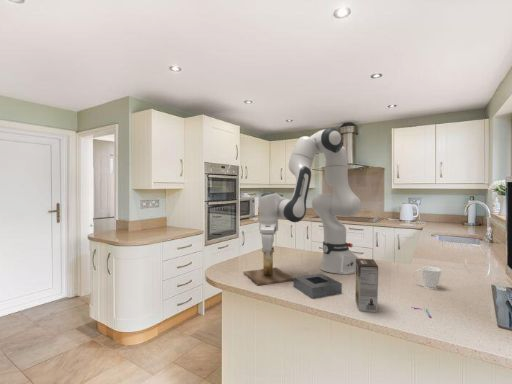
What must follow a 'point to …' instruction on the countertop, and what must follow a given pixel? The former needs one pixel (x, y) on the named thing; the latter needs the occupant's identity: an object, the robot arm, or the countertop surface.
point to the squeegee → (426, 311)
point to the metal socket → (317, 285)
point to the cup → (430, 276)
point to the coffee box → (366, 285)
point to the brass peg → (268, 263)
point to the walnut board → (268, 277)
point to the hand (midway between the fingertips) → (268, 255)
